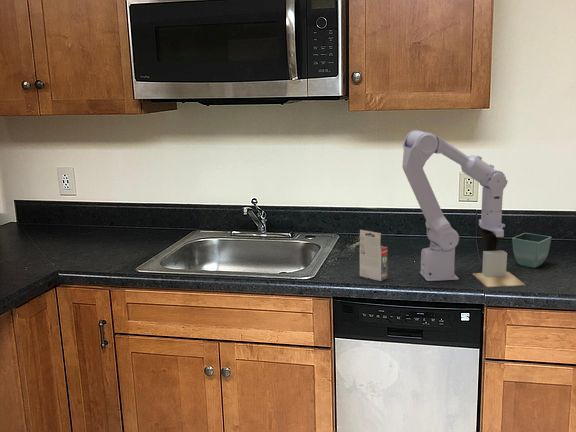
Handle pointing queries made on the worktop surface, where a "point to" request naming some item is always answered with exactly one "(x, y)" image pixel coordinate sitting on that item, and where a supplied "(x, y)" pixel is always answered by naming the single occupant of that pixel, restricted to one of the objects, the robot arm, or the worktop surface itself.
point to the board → (499, 280)
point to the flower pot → (531, 249)
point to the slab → (494, 263)
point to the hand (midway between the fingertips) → (489, 254)
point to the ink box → (372, 256)
